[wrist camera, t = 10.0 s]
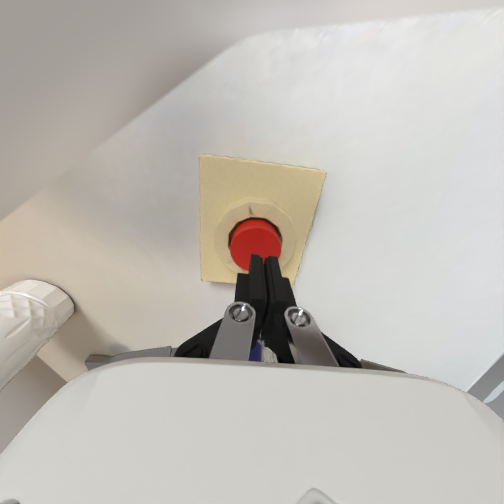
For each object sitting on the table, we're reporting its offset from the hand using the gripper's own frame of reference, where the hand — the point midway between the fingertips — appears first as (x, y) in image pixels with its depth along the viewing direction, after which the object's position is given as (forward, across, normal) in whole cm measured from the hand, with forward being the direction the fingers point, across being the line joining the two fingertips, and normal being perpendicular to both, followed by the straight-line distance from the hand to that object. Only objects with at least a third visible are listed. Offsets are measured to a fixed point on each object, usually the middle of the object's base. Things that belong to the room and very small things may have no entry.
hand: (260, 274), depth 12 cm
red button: (+5, 0, 0) cm, 5 cm away
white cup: (+8, +25, +13) cm, 30 cm away
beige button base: (+8, 0, 0) cm, 8 cm away
